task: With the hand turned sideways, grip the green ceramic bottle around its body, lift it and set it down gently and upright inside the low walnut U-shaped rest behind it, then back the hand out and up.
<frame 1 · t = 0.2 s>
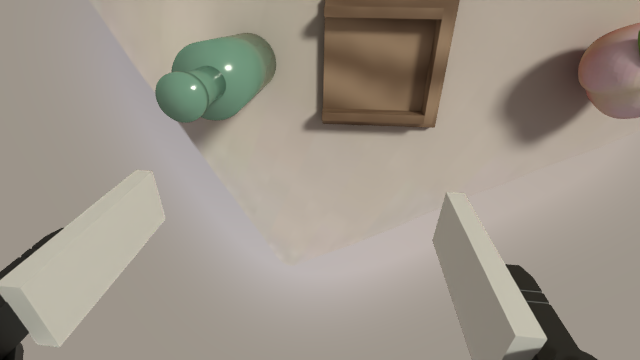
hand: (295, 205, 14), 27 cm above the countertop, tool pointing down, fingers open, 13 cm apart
decorative fruit: (596, 61, 36), on the countertop
green bottle: (249, 62, 38), on the countertop
u rest: (383, 65, 37), on the countertop
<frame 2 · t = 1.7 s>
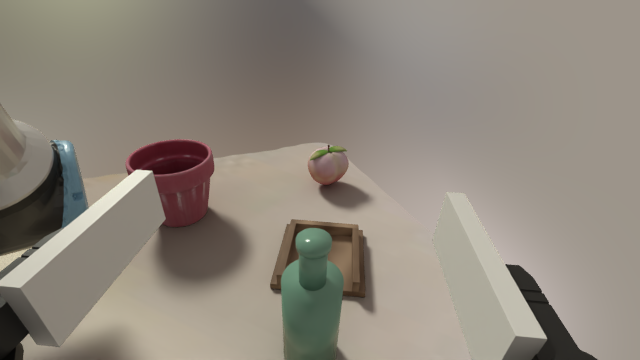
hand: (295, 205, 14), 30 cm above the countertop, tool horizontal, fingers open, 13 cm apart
decorative fruit: (325, 184, 73), on the countertop
green bottle: (310, 352, 39), on the countertop
plant pot: (184, 213, 62), on the countertop
u rest: (321, 258, 52), on the countertop
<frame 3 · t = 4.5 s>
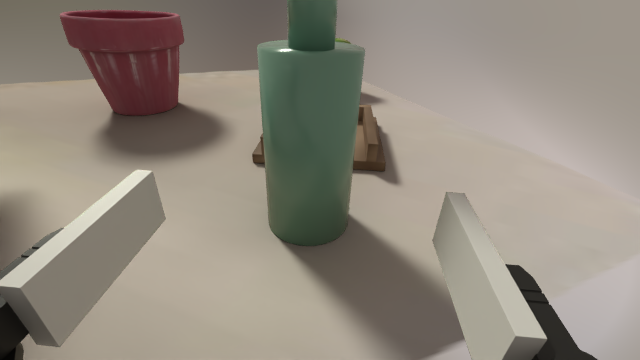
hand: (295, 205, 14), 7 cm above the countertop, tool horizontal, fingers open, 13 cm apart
green bottle: (308, 218, 26), on the countertop
plant pot: (147, 107, 49), on the countertop
u rest: (322, 140, 39), on the countertop
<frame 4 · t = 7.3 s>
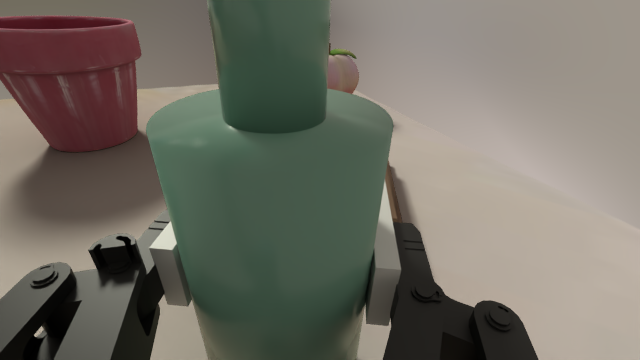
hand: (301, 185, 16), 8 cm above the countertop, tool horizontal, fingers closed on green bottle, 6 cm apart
decorative fruit: (324, 112, 50), on the countertop
plant pot: (97, 138, 38), on the countertop
u rest: (317, 193, 29), on the countertop
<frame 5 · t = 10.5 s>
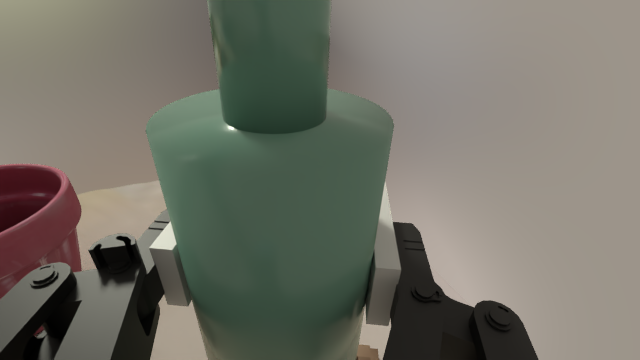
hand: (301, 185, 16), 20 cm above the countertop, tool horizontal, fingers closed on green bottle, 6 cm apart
plant pot: (32, 306, 32), on the countertop
when the fingers open (9 cm above the countertop, at t = 13.6 s): green bottle stays where it is, resting on u rest.
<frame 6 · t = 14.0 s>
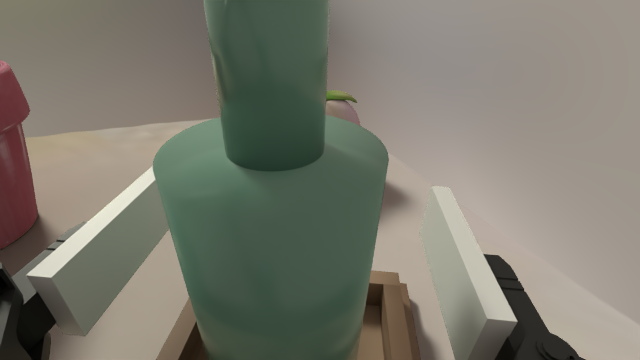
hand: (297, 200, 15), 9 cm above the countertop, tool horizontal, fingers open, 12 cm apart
decorative fruit: (314, 171, 37), on the countertop
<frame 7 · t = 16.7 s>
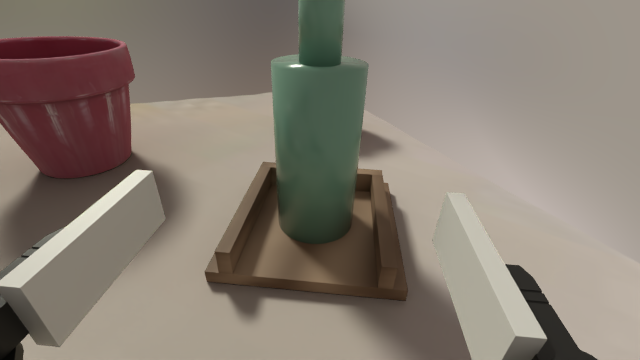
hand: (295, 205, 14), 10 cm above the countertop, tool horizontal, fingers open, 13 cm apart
green bottle: (315, 218, 27), point 1 cm above the countertop, touching u rest
plant pot: (90, 161, 37), on the countertop
u rest: (314, 227, 28), on the countertop
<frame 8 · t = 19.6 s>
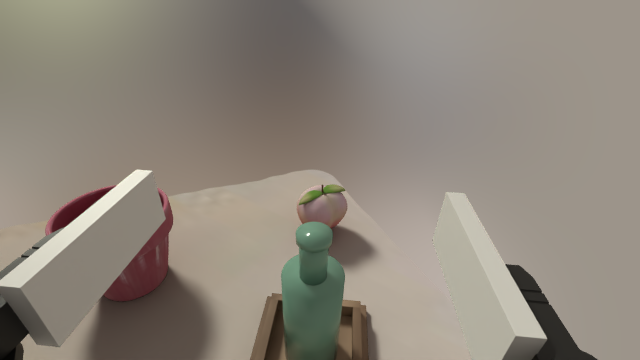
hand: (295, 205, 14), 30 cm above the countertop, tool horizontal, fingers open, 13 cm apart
decorative fruit: (319, 229, 60), on the countertop
green bottle: (311, 349, 38), point 1 cm above the countertop, touching u rest
plant pot: (136, 278, 48), on the countertop
u rest: (310, 353, 39), on the countertop
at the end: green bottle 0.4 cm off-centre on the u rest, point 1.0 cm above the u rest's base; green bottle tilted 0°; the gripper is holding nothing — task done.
